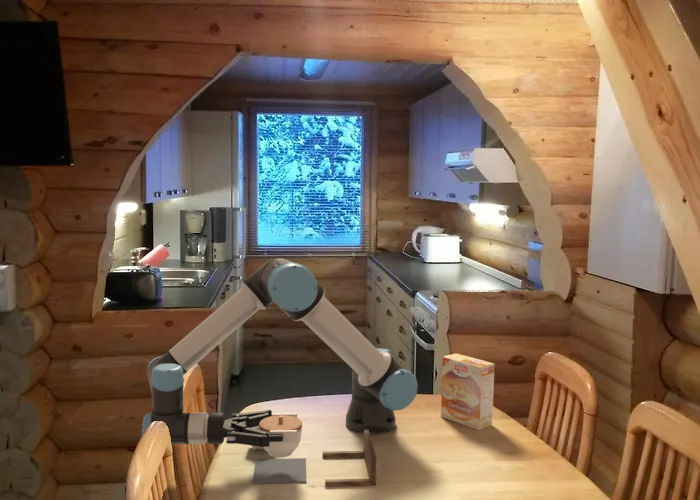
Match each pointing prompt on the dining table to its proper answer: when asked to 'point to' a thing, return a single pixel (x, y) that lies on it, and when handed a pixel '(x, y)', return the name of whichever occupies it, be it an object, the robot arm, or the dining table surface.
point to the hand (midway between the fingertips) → (297, 427)
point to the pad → (280, 471)
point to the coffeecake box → (467, 391)
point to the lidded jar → (281, 424)
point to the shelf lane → (367, 454)
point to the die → (260, 442)
